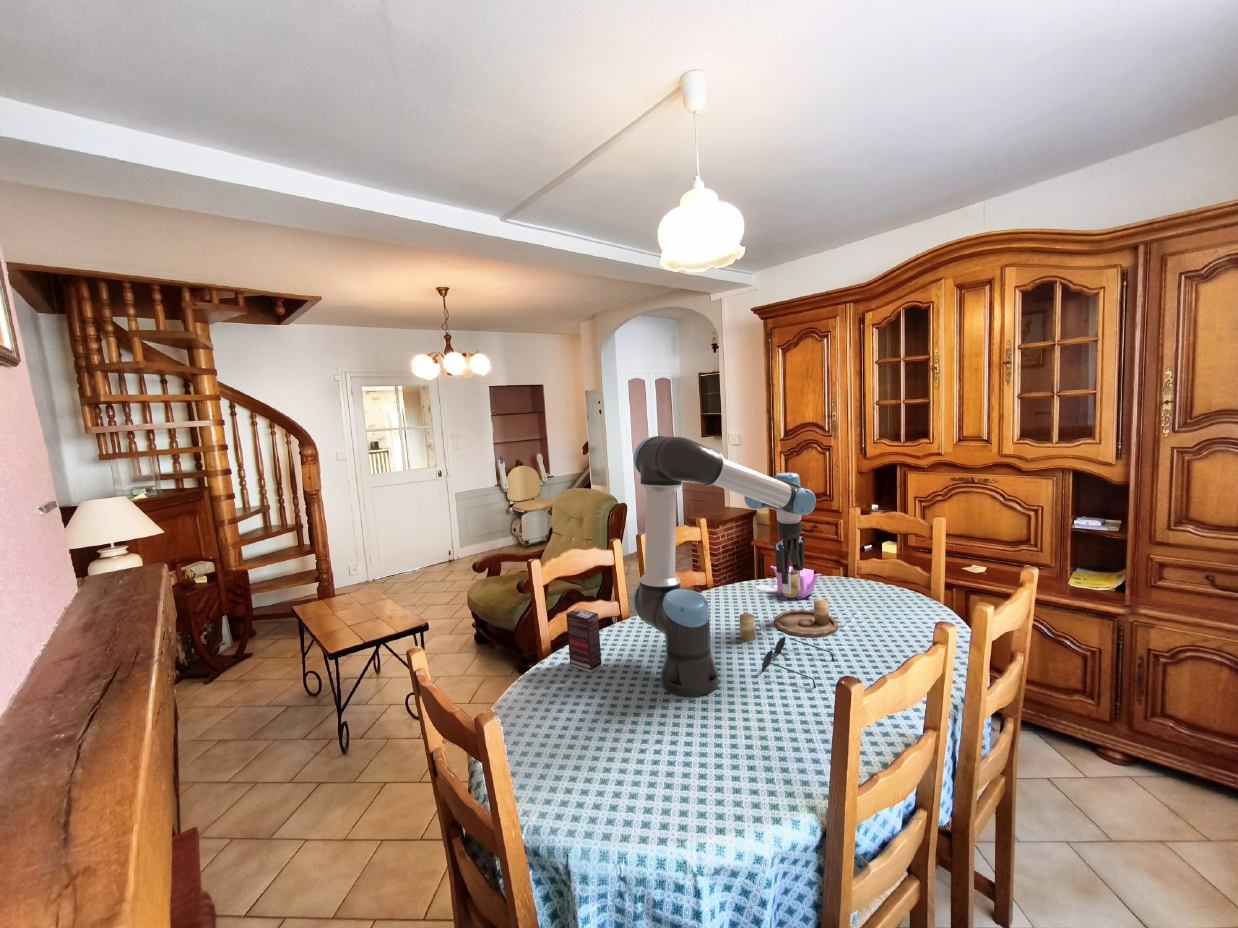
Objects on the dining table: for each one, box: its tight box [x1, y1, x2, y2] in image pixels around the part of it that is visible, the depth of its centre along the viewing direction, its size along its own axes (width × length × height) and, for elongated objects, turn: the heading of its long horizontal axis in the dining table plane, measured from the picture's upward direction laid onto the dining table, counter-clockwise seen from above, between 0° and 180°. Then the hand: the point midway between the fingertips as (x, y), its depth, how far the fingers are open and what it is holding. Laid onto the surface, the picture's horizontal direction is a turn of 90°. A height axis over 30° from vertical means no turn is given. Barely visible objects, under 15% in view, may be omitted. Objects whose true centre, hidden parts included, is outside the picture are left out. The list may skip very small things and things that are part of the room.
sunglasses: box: [761, 635, 835, 689], centre depth 144 cm, size 17×15×5 cm
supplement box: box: [565, 608, 603, 674], centre depth 152 cm, size 9×5×16 cm, turn 52°
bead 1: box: [739, 613, 756, 642], centre depth 164 cm, size 4×4×7 cm
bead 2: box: [783, 572, 798, 599], centre depth 173 cm, size 4×4×7 cm
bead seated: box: [813, 598, 830, 625], centre depth 170 cm, size 4×4×7 cm
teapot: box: [770, 565, 823, 601], centre depth 197 cm, size 15×13×11 cm
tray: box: [774, 609, 839, 638], centre depth 170 cm, size 19×19×2 cm
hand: (791, 591), depth 173 cm, fingers closed on bead 2, 4 cm apart
